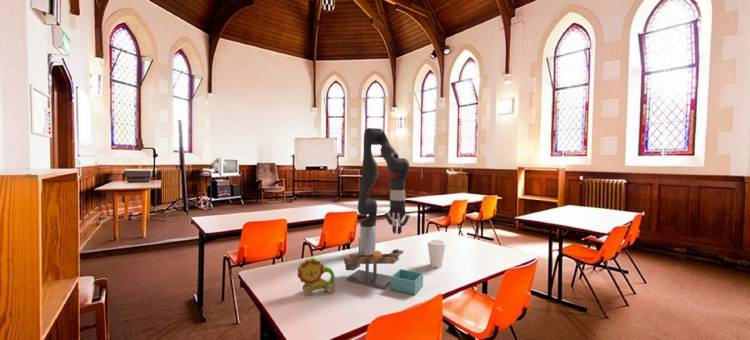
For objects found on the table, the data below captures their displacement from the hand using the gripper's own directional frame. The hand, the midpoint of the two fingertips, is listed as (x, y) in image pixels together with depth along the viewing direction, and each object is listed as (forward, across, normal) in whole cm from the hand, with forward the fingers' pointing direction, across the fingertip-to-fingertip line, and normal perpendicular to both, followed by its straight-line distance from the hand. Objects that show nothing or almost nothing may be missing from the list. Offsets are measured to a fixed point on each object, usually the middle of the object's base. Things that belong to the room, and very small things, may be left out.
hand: (397, 233), depth 160 cm
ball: (+8, -5, -12) cm, 15 cm away
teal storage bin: (+21, +10, -12) cm, 26 cm away
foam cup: (+21, +14, +23) cm, 34 cm away
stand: (+21, -8, -12) cm, 26 cm away
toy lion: (+21, -23, -35) cm, 47 cm away
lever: (+15, -7, -6) cm, 18 cm away
